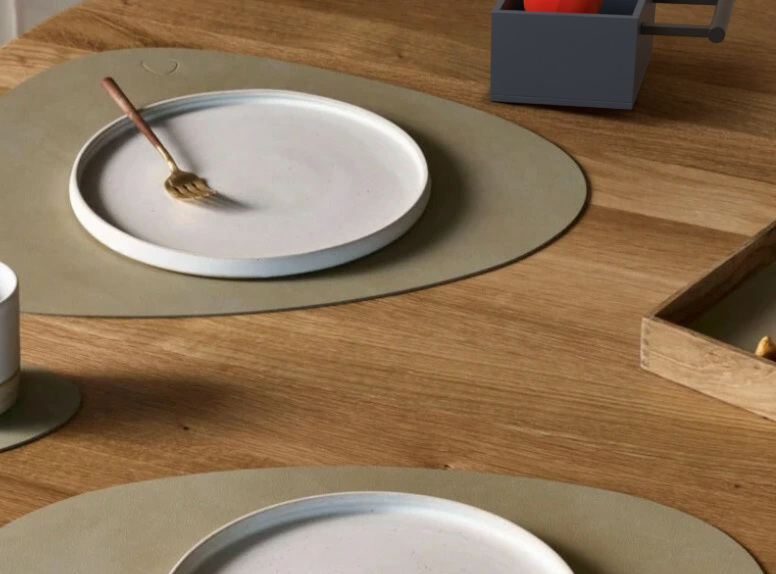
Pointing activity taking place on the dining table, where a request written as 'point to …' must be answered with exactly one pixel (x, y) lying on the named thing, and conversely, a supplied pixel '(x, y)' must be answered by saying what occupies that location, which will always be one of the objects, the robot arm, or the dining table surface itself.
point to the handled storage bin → (583, 51)
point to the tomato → (564, 6)
